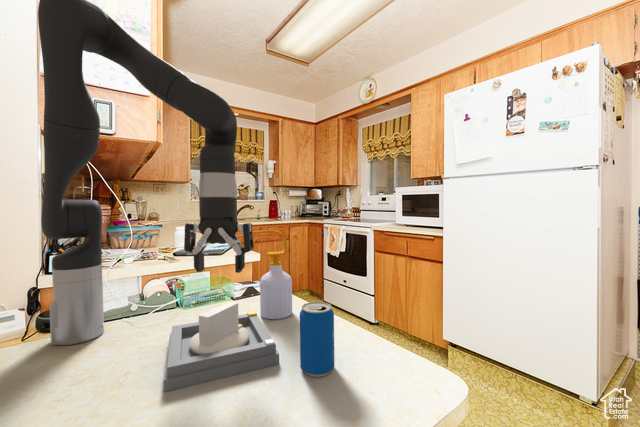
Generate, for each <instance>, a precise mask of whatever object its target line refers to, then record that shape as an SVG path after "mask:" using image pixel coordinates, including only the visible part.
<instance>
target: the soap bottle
mask: <svg viewBox="0 0 640 427" xmlns="http://www.w3.org/2000/svg"><path fill="white" fill-rule="evenodd" d="M268 231H270V232H272V233H276V234H280V235H281V236H282V248H281V251H268V252H266V255H267V256H270V258H271V259H272V262H270V263H269V271H268V272H266V273H264V274H263V275H262V277H261V278H260V281H259V296H260V297H259V299H260V300H259V301H260V303H259V304H260V305H259V306H260V307H259V308H260V309H259V310H260V316H261V317H262V318H263V319H266V320H283V319H286V318H288V317H290V316H291V315H292V314H293V281H292V280H293V279H292V277H291V275H290V274H289V273H287V272H286V271H284V270H283V269H282V261H279V260H280V258H281V256H283V255H286V253H287V251H288V250H287V249H288V248H287V246H288V245H287V235H286V234H285V233H283V232H281V231H278V230H276V229H271V228H269V229H268Z"/></svg>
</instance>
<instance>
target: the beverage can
mask: <svg viewBox="0 0 640 427" xmlns="http://www.w3.org/2000/svg"><path fill="white" fill-rule="evenodd" d="M299 349H300V350H299V357H300V358H299V359H300V360H299V363H300V365H299V367H300V369H301V371H303V373H305V374H306V375H308V376H311V377H314V378H316V377H317V378H320V377H325V376H327V375H328V374H330V373H331V372H332V371H333V370H334V369H335V313H334V310H333V309H332V304H330V303H328V302H324V301H311V302H307V303H304V304H302V305H301V310H300V312H299Z"/></svg>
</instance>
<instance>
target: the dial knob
mask: <svg viewBox="0 0 640 427" xmlns="http://www.w3.org/2000/svg"><path fill="white" fill-rule="evenodd" d="M238 315H239V303H238V302H232V301H227V302H226V303H223V304H222V305H219V306H217V307H215V308H213V309H211V310H209V311H205V312H204V313H201V314H199V315H198V322H199V333H197V334H196V335H194V336H193V337H192V338H191V339H190V342H189V345H190V350H191V352H193V353H195V354H197V355H204V354H209V353H213V352H218V351H223V350H228V349H232V348H237V347H242V346H244V345H246V344H247V342H248V341H249V331H248V330H247V329H246V328H244V327H242V326H243V325H241V324H239V321H238Z"/></svg>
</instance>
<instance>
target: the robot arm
mask: <svg viewBox="0 0 640 427" xmlns="http://www.w3.org/2000/svg"><path fill="white" fill-rule="evenodd" d="M37 19H38V21H37V22H38V31H39V40H40V47H41V56H42V66H43V67H42V68H43V85H44V86H43V87H44V91H43V93H44V108H43V148H44V149H43V150H44V153H43V154H44V180H43V190H42V192H43V194H42V204H41V205H42V206H41V219H40V220H41V223H40V224H41V230H42V233H43V235H44V236H45V237H46V238H47V239H50V240H62V239H66V240H67V239H81V238H84V239H83V241H82V242H81V243H80V244H78V245H77V246H76V247H74V248H72V249H69V250H67V251H65V252H62V253H61V252H60V253H58V254H56V255H55V256H53V257H52V260H51V269H52V270H51V271H52V272H51V273H52V275H51V276H52V294H53V295H52V298H53V299H52V301H51V302H50V303H49V326H50V328H49V330H50V346H56V345H57V346H58V345H59V346H67V345H68V346H69V345H76V344H80V343H85V342H88V341H90V340H94V339H95V338H97V337H100V336H102V335H103V334H104V332H105V319H104V318H105V317H104V292H103V291H104V289H103V260H102V256H103V255H102V254H103V251H102V250H103V249H102V248H103V247H102V235H103V234H102V232H103V210H102V206H101V204H100V203H99V201H98V200H96V199H95V200H94V199H63V198H64V196H65V193H66V191H67V188H68V186H69V185H70V183H71V182H72V180H73V179H74V178H75V177H76V175H77V174H78V173H79V172H80V171H81V170H82V169H83V168H84V167H85V166H87V164H88V163H89V162H90V161H91V160H92V159H93V157H94V156H95V155H96V154H97V152H98V151H99V148H100V136H101V121H100V120H101V119H100V116H99V112H98V109H97V107H96V105H95V103H94V101H93V99H92V96H91V95H90V92H89V90H88V88H87V86H86V83H85V79H84V72H83V53H84V52H86V53H91V54H92V53H93V54H95V55H98V56H102V57H103V58H105V59H107V60H109V61H112V62H114V63H116V64H117V65H119V66H121V67H122V68H124V69H125V70H127V71H128V72H129V73H130V74H131V75H132V76H133V77H134V78H135V79H136V80H137V81H138V83H139V84H141V86H142V87H143V88H145V89H146V90H147V91H149V93H151V94H152V95H153V96H155V97H157V98H158V99H160V100H161V101H162V102H164V103H165V104H167V105H169V106H170V107H171V108H173V109H175V110H177V111H178V112H179V111H180V112H181V113H183V114H184V115H185V116H187V117H188V118H190V120H192V121H194V122H195V123H196V124H198V125H199V126H200V127H202V128H203V129H204V145H203V146H202V147H201V149H200V151H199V181H198V199H199V200H198V204H199V205H198V208H199V209H198V210H199V219H200V220H199V223H196V222H188V223H185V224H184V239H183V240H184V244H183V245H184V247H183V250H184V251H185V252H189V253H192V255H193V268H194V270H195V271H196V273H202V272H203V271H204V270H205V253H204V251H205V249H206V248H207V247H208V246H209V245H214V244H222V245H224V244H227V245H228V246H229V247H230V248H232V250H233V251H234V252H235V254H236V255H235V256H234V257H235V258H234V266H235V268H234V269H235V273H236V274H240V273H241V272H243V270H244V269H245V266H246V265H245V264H246V262H245V261H246V258H245V257H246V256H245V255H246V253H249V252H251V251H253V250H254V248H255V246H254V234H253V232H254V231H253V223H251V222H245V223H238V218H237V217H238V200H237V199H238V189H237V178H236V158H235V157H236V156H235V151H236V150H235V149H236V144H237V137H238V136H237V134H238V133H237V132H238V122H237V116H236V114H235V112H234V111H233V109H232V108H231V106H230V104H229V103H228V102H227V101H226V100H225V99H224V98H223V97H221V96H220V95H219V94H218V93H215V92H214V91H212V90H210V89H209V88H208V87H205V86H203V85H201V84H199V83H197V82H196V81H194V80H193V79H192V78H190V77H189V76H187V75H186V74H184V73H183V72H182V71H181V70H179V69H177V68H176V67H174V66H173V65H172V64H170V63H168V62H167V61H165V60H164V59H162V58H161V57H159V56H158V55H156V54H155V53H153V52H152V51H150V50H149V49H148V48H146V47H144V46H143V45H142V44H141V43H140V42H138V40H136V39H135V38H134V37H132V36H131V35H130V34H129V33H128V32H126V30H124V29H123V28H122V27H121V26H120V25H119V24H118V23H117V22H116V21H115V20H114V19H113V18H112V17H111V16H110V15H109V14H108V13H107V12H105V11H104V9H102V8H100V7H99V6H97V5H96V4H94V3H93V2H90V1H88V0H39V2H38V7H37ZM238 231H240V233H241V234H242V235H243V236H242V237H243V244H242V243H241V240H240V239H239V237H238V236H237V235H236V233H238ZM198 232H200V233H201V237H200V238H199V240H198V241H197V240H196V239H197V233H198ZM196 241H197V242H196Z"/></svg>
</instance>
